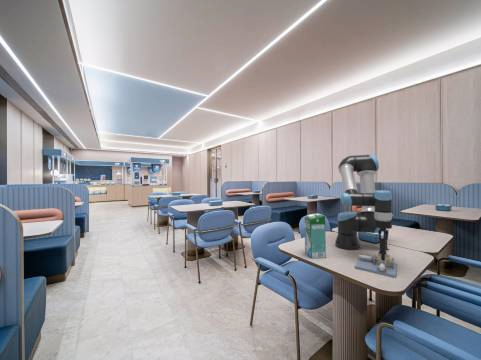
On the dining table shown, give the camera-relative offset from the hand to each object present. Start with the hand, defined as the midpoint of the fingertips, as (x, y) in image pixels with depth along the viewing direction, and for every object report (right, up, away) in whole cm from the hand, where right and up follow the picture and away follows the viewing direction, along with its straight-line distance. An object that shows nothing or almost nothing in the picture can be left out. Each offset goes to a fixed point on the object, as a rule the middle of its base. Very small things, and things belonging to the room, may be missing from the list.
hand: (383, 264), depth 107 cm
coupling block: (0, 0, 0) cm, 0 cm away
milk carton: (-29, -2, +18) cm, 34 cm away
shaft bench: (-4, -2, 0) cm, 4 cm away
